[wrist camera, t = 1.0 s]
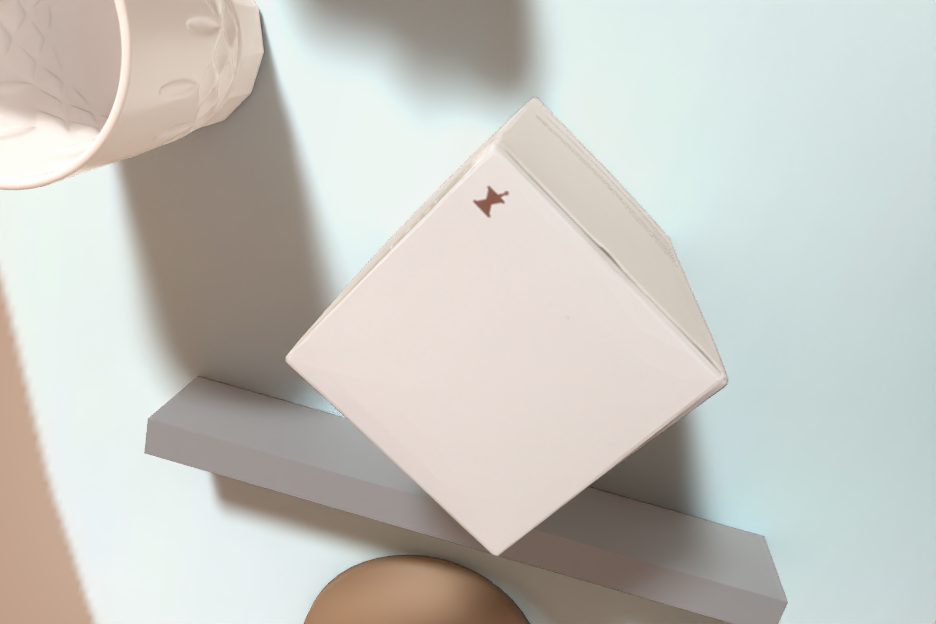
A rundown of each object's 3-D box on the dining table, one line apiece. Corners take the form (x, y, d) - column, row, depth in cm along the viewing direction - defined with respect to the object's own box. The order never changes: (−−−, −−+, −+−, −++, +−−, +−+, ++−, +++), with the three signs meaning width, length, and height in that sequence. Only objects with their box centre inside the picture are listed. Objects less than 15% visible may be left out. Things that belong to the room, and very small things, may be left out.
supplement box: (393, 232, 30) (267, 354, 18) (537, 90, 28) (499, 124, 16) (528, 368, 31) (491, 569, 19) (677, 242, 29) (741, 382, 17)
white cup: (244, 178, 30) (89, 239, 21) (55, 93, 30) (-185, 115, 21) (310, -30, 27) (165, -68, 18) (102, -124, 27) (-150, -211, 18)
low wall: (764, 536, 32) (788, 602, 28) (751, 566, 32) (772, 635, 29) (198, 376, 33) (148, 418, 29) (193, 407, 34) (144, 453, 30)
